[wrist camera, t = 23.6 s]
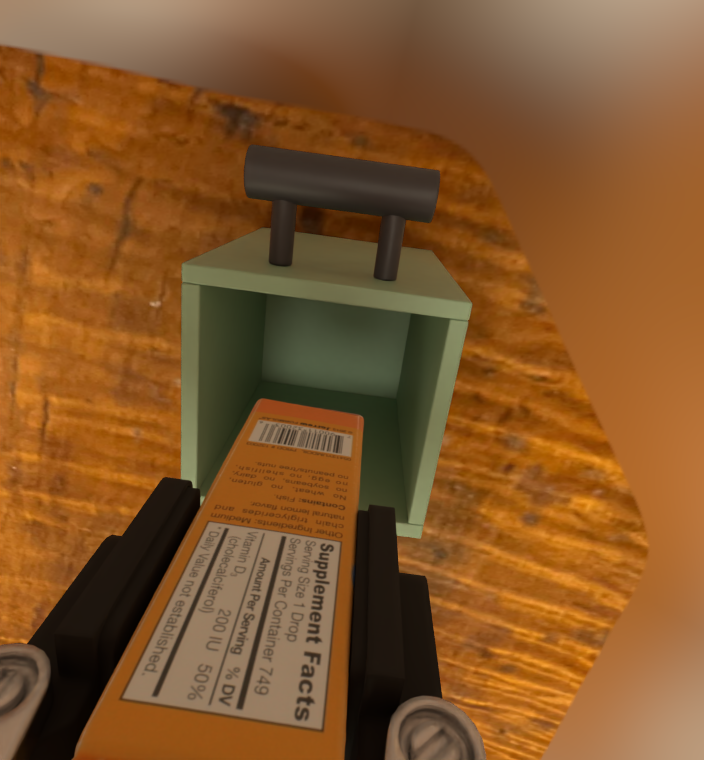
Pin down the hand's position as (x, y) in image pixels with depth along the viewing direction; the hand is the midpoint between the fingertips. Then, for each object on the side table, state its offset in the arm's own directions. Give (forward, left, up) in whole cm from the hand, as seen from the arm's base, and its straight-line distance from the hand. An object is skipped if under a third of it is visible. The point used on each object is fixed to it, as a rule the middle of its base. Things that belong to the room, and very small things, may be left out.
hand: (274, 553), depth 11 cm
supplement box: (0, 0, -5) cm, 5 cm away
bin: (+5, 0, -13) cm, 14 cm away
